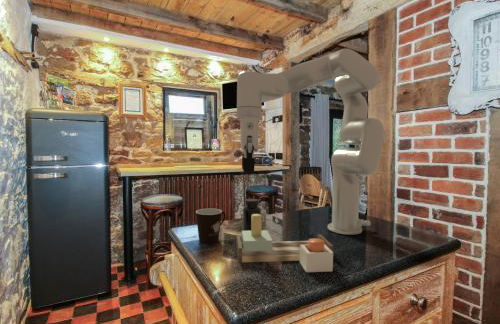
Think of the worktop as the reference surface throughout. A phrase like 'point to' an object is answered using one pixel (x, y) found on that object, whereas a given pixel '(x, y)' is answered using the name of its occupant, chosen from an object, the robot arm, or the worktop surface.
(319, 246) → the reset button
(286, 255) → the track
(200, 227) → the coffee mug
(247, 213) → the supplement bottle
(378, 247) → the worktop surface
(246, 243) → the block
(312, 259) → the white open box
